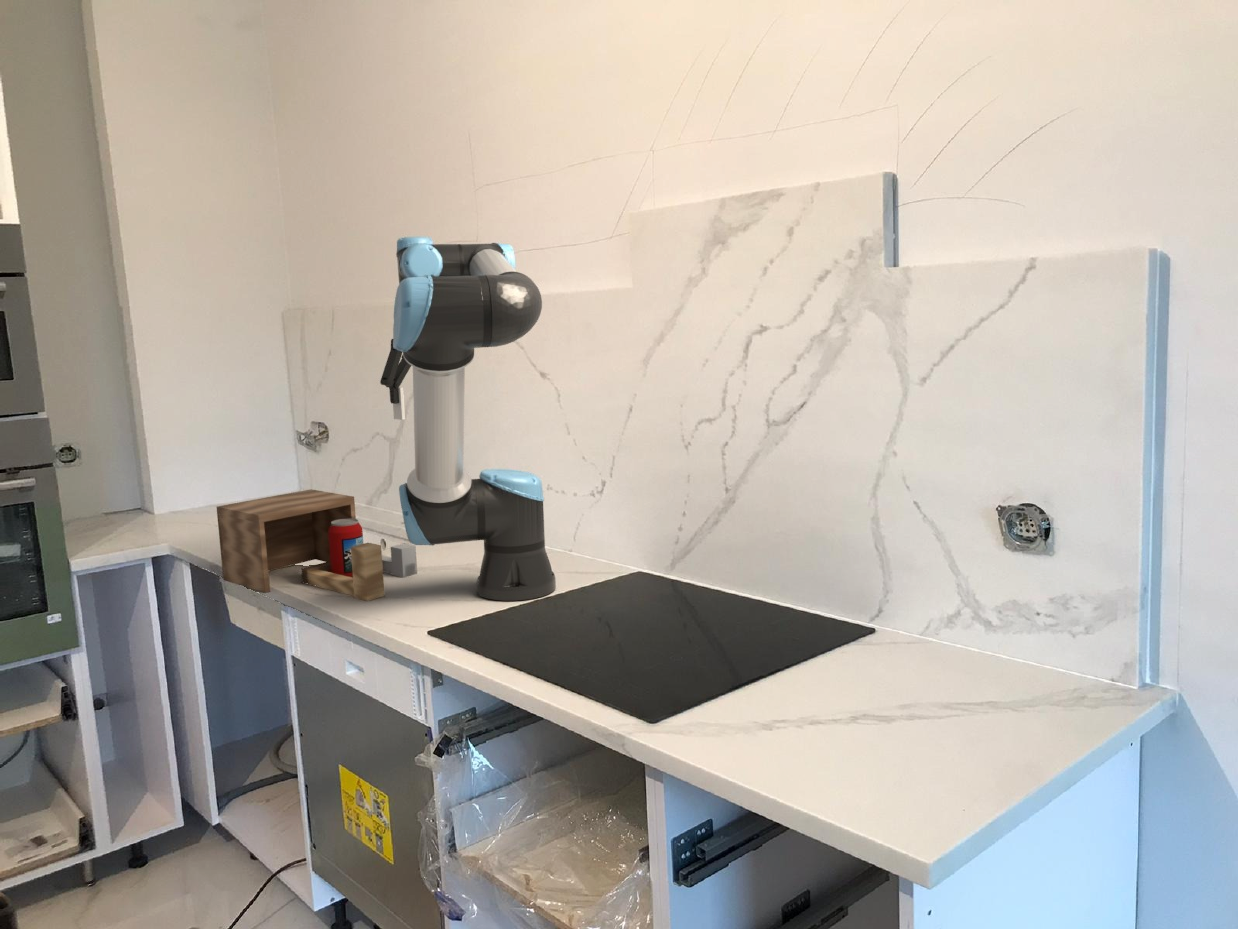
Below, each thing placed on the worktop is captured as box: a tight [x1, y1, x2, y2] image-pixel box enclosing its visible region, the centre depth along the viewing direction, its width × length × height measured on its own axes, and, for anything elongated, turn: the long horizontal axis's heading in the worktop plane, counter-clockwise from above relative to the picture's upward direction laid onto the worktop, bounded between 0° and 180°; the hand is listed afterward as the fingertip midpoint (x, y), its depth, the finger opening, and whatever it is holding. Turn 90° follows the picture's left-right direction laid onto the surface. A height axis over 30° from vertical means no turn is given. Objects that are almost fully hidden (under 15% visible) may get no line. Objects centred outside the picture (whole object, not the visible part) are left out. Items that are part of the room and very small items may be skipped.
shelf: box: [216, 488, 357, 594], centre depth 208 cm, size 16×22×16 cm
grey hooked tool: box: [382, 542, 418, 578], centre depth 209 cm, size 14×4×6 cm, turn 50°
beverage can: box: [328, 518, 365, 578], centre depth 203 cm, size 7×7×12 cm
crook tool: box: [300, 542, 386, 602], centre depth 198 cm, size 22×10×10 cm, turn 52°
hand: (425, 415), depth 210 cm, fingers open, 13 cm apart
